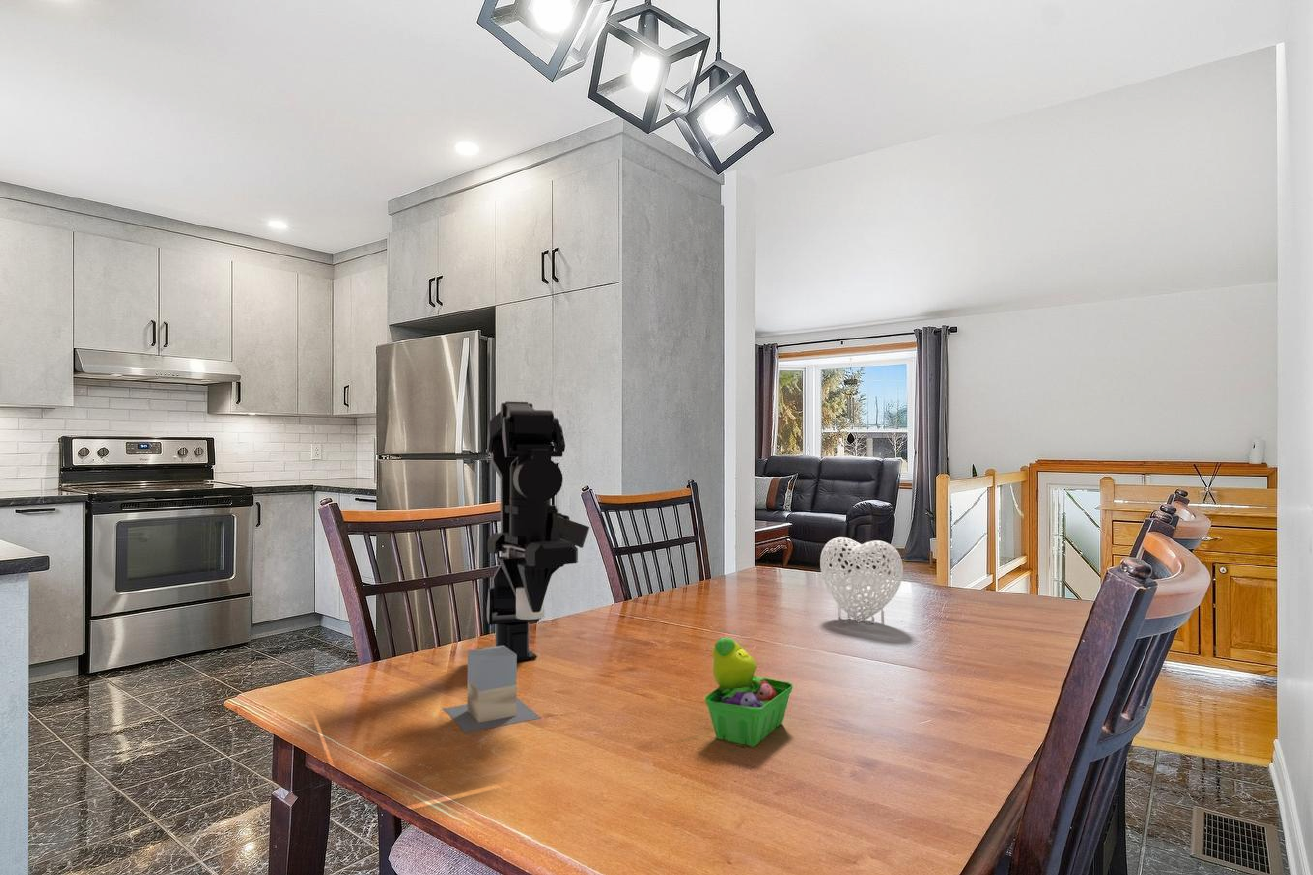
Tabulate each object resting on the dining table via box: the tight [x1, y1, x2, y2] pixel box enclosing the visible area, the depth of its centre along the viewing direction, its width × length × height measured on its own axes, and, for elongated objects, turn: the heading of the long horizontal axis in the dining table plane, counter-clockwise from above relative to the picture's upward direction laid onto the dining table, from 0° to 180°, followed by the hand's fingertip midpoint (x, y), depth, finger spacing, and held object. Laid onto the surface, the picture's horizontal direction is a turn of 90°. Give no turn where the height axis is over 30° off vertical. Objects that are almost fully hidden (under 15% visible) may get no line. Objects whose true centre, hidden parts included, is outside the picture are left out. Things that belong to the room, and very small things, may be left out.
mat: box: [443, 696, 542, 735], centre depth 96 cm, size 10×10×1 cm
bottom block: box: [466, 681, 517, 723], centre depth 96 cm, size 5×5×4 cm
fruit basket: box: [704, 637, 794, 747], centre depth 92 cm, size 11×9×11 cm
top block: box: [467, 646, 518, 691], centre depth 96 cm, size 5×5×4 cm
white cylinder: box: [516, 586, 546, 620], centre depth 102 cm, size 4×4×4 cm
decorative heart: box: [819, 536, 904, 625], centre depth 150 cm, size 18×11×17 cm, turn 44°
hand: (530, 609), depth 102 cm, fingers closed on white cylinder, 4 cm apart
